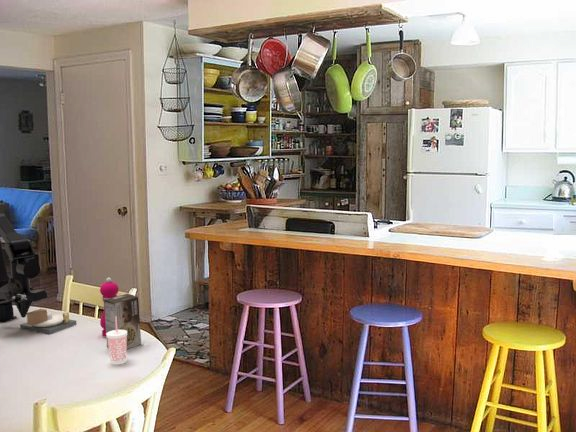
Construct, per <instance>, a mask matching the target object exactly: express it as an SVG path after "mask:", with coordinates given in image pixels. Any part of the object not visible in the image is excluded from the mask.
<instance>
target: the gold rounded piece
mask: <svg viewBox="0 0 576 432" xmlns="http://www.w3.org/2000/svg"><path fill="white" fill-rule="evenodd" d="M62 315H63V323H64V324H68V323H69V319H70V313H69V312H63V313H62Z"/></svg>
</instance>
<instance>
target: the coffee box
mask: <svg viewBox="0 0 576 432" xmlns="http://www.w3.org/2000/svg"><path fill="white" fill-rule="evenodd" d="M104 307H105V322H106V333H107V332H109V331H112V330H116V324H115V316H117V330H126V331H127V349H126V350H128V349H130V348H133V347H136V346H139V344H140V345H142V336H141V335H142V334H141V319H140V305H139V296H136V295H133V294H130V293H125V294H120V295H117V296H116V297H113V298H109V299H105V300H104V302H103V308H104ZM106 336H107V335H106ZM106 348H107V349H109V346H108V338H107V337H106Z"/></svg>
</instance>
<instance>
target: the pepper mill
mask: <svg viewBox="0 0 576 432" xmlns="http://www.w3.org/2000/svg"><path fill="white" fill-rule="evenodd" d="M99 292H100V294H101V296H102V297H101V300H102V302H103V303H104V300H105V299H109V298H113V297H116V296H118V295H117V294H118V292H119V286H118V284H117V283H116V282H113V281H112V278H111V277H107V278H106V279H105V282H104V283H102V284H101V286H100V287H99ZM99 325H100V327H101V328H102V330H101V334H102V337H104V338H107V337H106V322H105V307H104V306H103V312H102V314H101V317H100V322H99Z"/></svg>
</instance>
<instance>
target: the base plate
mask: <svg viewBox="0 0 576 432" xmlns="http://www.w3.org/2000/svg"><path fill="white" fill-rule="evenodd" d="M76 325H77V320H74V319H70V318H69V323H68V324H64V323H61V324H58V325H54V326H48V327H36V326H33V325H29V324H27V321H26V322H24V323H21V324H19V329H20V330H24V331H29V332H34V333H39V334H40V333H41V334H46V335H53V334H55V333H57V332H60V331H63V330H66V329H69V328H71V327H74V326H76Z"/></svg>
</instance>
